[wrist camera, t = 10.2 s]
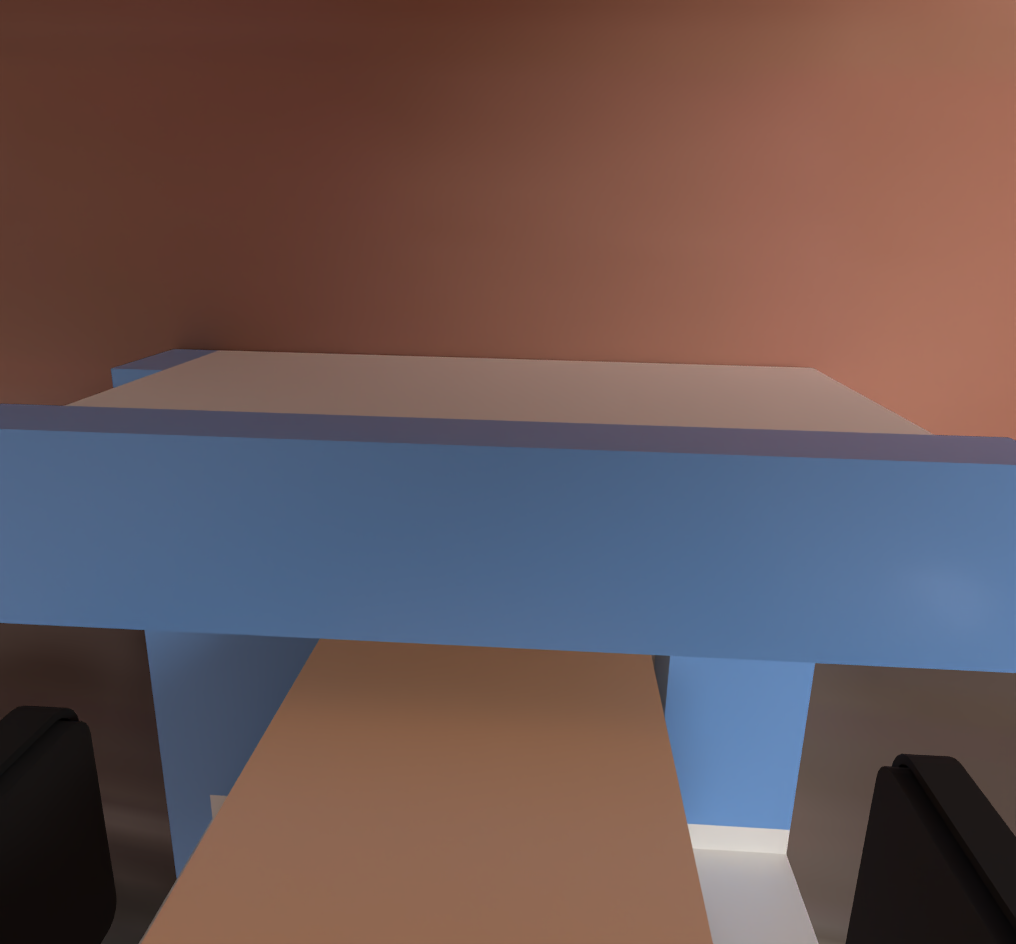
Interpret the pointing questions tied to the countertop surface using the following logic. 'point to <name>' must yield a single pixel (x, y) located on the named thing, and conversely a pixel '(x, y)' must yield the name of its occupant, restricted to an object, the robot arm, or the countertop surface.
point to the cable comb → (514, 552)
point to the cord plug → (451, 808)
